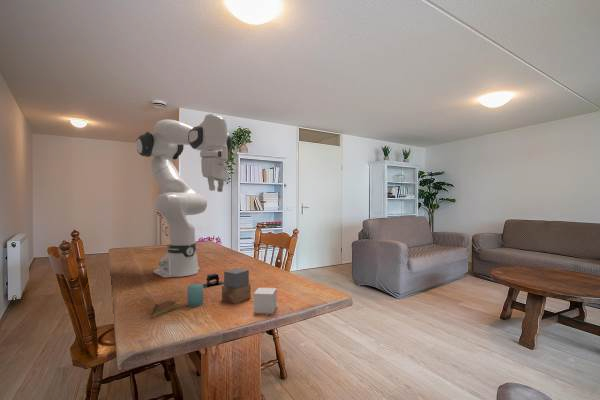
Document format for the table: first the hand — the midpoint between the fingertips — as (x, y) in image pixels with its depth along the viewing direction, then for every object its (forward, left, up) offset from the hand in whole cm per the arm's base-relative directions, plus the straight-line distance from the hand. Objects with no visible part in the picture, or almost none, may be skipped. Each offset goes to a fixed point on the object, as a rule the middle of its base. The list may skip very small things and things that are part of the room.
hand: (216, 191), depth 107 cm
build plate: (-7, +5, -39) cm, 40 cm away
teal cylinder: (+6, -14, -39) cm, 41 cm away
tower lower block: (+14, -3, -39) cm, 41 cm away
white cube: (+29, -5, -39) cm, 49 cm away
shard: (+3, -22, -39) cm, 45 cm away
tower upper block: (+14, -3, -34) cm, 37 cm away
